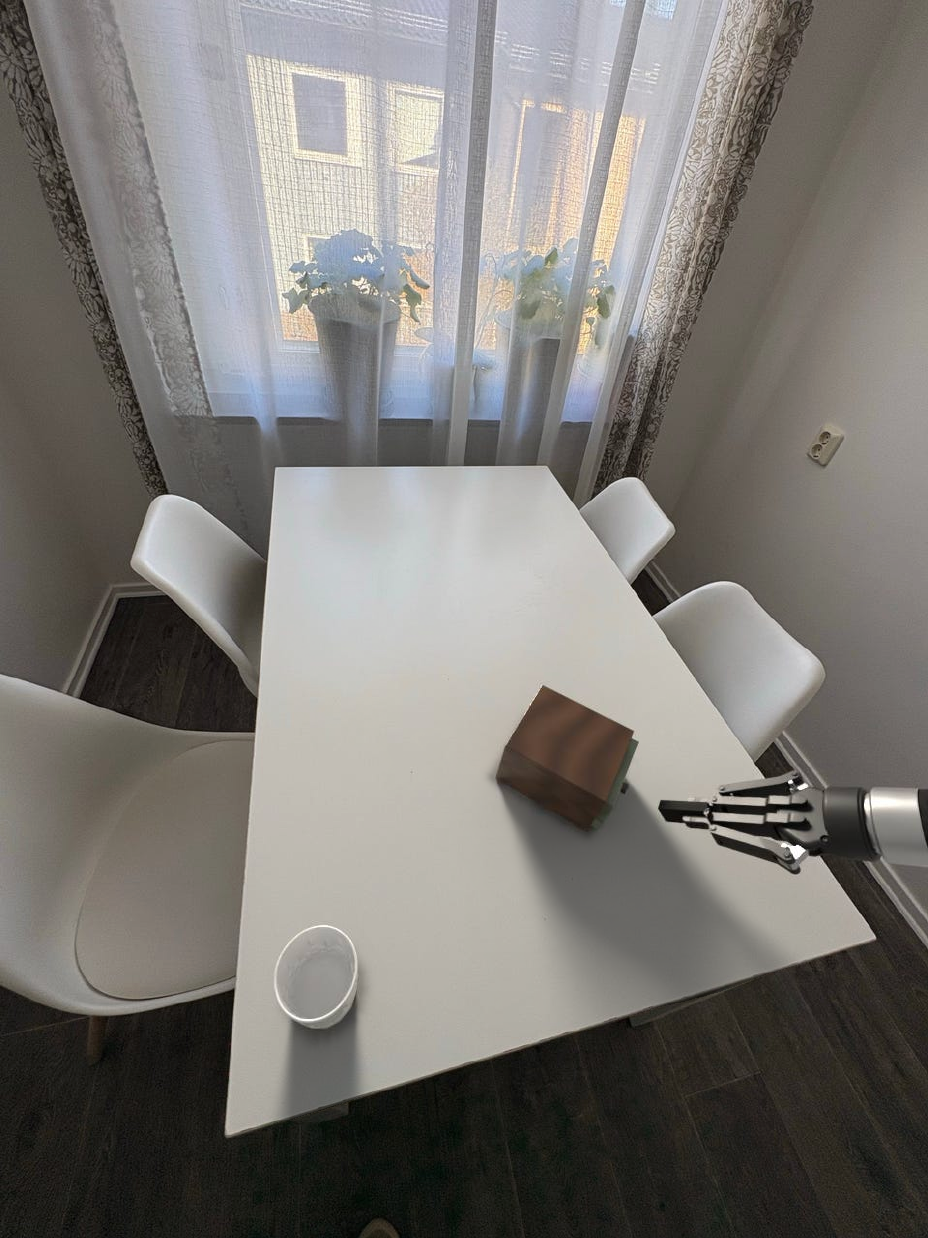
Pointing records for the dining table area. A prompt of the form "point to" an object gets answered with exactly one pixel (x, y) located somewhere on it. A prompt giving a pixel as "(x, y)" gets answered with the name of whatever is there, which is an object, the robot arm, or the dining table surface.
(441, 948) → the dining table surface
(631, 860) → the dining table surface
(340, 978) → the white cup
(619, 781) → the top drawer
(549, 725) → the cabinet
